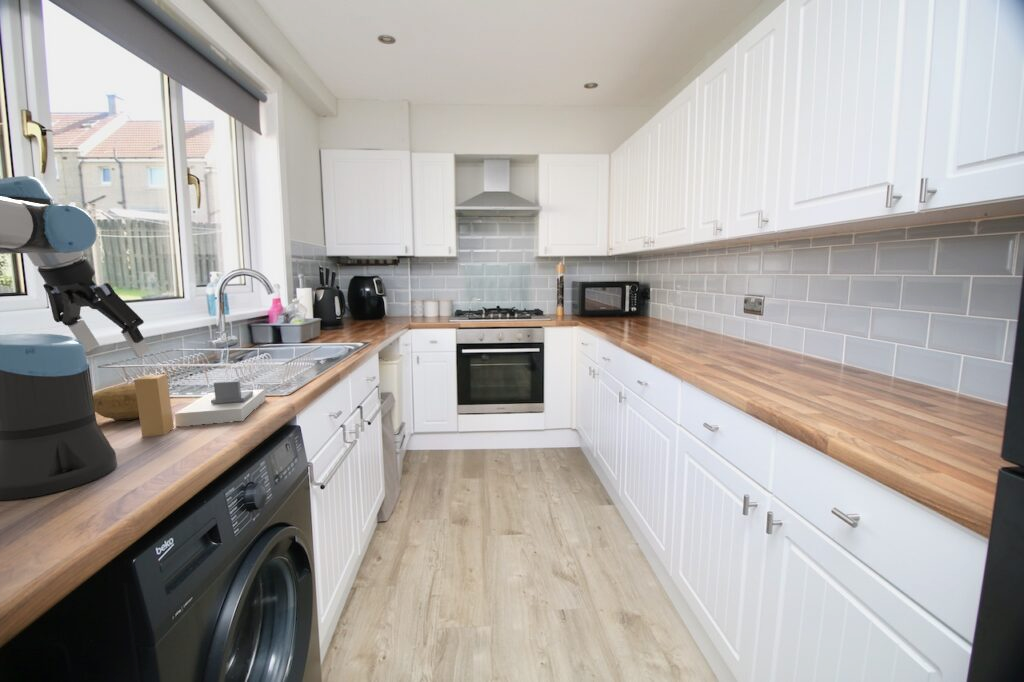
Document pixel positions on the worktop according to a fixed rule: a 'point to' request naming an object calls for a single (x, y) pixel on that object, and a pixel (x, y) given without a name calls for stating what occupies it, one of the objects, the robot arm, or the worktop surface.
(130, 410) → the potato
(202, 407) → the socket board
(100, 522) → the worktop surface
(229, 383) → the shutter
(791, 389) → the worktop surface
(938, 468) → the worktop surface
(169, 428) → the plug
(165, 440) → the worktop surface
